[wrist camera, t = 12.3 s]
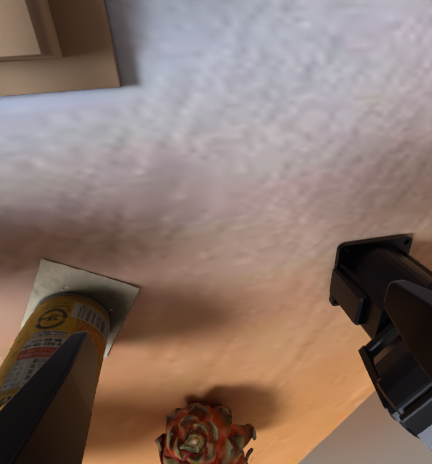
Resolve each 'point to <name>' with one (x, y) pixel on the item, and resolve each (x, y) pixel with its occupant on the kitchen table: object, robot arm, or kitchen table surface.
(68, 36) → the block
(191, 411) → the dragon fruit
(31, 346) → the condiment
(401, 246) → the robot arm
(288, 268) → the kitchen table surface
